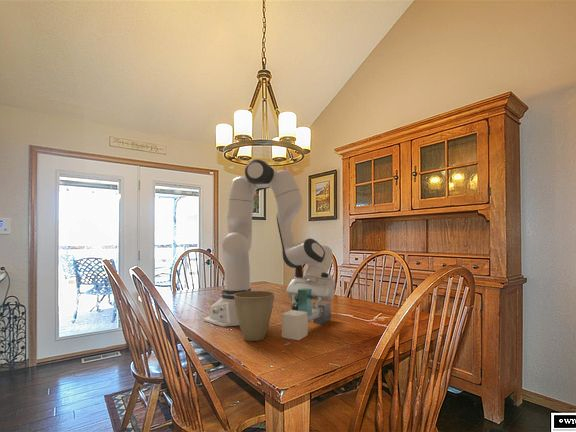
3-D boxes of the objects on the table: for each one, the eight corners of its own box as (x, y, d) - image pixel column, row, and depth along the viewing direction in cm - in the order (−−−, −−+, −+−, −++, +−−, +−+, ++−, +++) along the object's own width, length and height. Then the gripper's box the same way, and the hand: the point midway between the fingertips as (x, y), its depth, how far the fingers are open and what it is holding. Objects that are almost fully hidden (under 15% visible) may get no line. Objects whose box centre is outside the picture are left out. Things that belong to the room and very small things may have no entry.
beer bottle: (307, 309, 161) (306, 261, 162) (306, 313, 153) (306, 262, 154) (292, 309, 161) (291, 261, 163) (290, 312, 154) (290, 262, 155)
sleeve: (313, 322, 136) (313, 304, 137) (320, 318, 142) (320, 301, 143) (324, 324, 134) (323, 305, 134) (330, 320, 140) (330, 302, 140)
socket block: (281, 337, 117) (281, 313, 117) (291, 332, 123) (291, 309, 123) (298, 340, 113) (298, 316, 114) (307, 335, 119) (307, 312, 120)
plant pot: (281, 340, 113) (280, 295, 114) (241, 347, 107) (241, 299, 108) (265, 329, 127) (265, 289, 128) (228, 335, 120) (228, 292, 121)
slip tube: (287, 327, 118) (287, 292, 118) (314, 314, 136) (313, 284, 137) (296, 328, 116) (296, 293, 116) (322, 315, 134) (322, 285, 135)
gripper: (290, 272, 137) (278, 299, 128) (334, 275, 127) (324, 304, 118) (296, 281, 141) (284, 308, 132) (339, 284, 130) (329, 314, 121)
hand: (303, 306), depth 125 cm, fingers open, 8 cm apart
